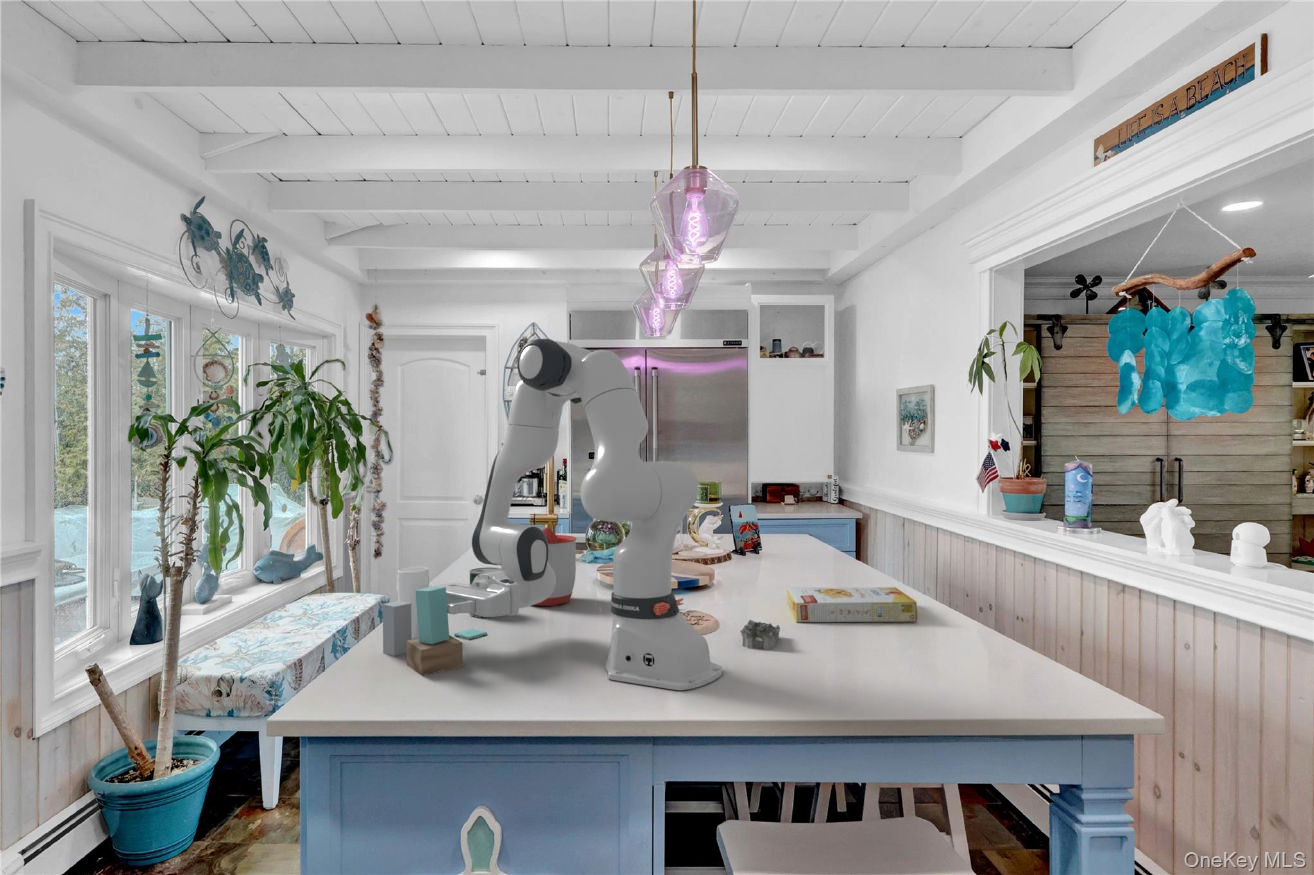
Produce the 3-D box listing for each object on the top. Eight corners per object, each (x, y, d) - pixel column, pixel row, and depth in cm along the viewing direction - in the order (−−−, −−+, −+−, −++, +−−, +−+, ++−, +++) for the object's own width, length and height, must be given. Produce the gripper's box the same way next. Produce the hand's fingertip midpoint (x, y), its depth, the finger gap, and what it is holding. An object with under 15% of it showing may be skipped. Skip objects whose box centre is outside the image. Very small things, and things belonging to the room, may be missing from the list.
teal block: (449, 639, 142) (445, 587, 142) (432, 644, 139) (428, 591, 139) (436, 637, 144) (432, 586, 145) (419, 642, 141) (415, 590, 141)
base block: (462, 668, 141) (462, 642, 141) (421, 676, 136) (421, 649, 136) (446, 658, 147) (446, 633, 147) (406, 666, 143) (406, 640, 143)
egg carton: (774, 652, 150) (773, 632, 150) (737, 648, 153) (737, 629, 153) (783, 638, 160) (783, 619, 160) (749, 635, 163) (749, 616, 163)
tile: (487, 634, 164) (486, 632, 164) (468, 639, 160) (468, 637, 160) (472, 631, 167) (472, 628, 167) (454, 636, 163) (454, 633, 163)
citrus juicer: (529, 594, 206) (528, 522, 206) (586, 597, 201) (585, 524, 201) (500, 606, 192) (500, 529, 192) (561, 610, 186) (560, 531, 186)
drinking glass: (403, 642, 158) (402, 573, 158) (393, 636, 163) (393, 568, 163) (434, 637, 162) (433, 569, 162) (423, 631, 167) (423, 565, 167)
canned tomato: (506, 610, 187) (506, 567, 187) (496, 618, 179) (496, 573, 179) (476, 610, 188) (475, 567, 188) (465, 617, 180) (464, 572, 180)
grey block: (411, 651, 152) (411, 603, 152) (394, 656, 148) (393, 606, 148) (400, 648, 154) (400, 600, 154) (383, 652, 151) (382, 604, 151)
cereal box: (918, 600, 170) (795, 600, 172) (918, 624, 170) (796, 624, 172) (894, 585, 191) (785, 584, 192) (895, 606, 191) (785, 606, 192)
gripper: (458, 573, 159) (402, 583, 148) (523, 584, 147) (467, 596, 136) (459, 602, 159) (402, 615, 148) (523, 615, 147) (467, 630, 136)
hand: (433, 606), depth 142 cm, fingers open, 8 cm apart
